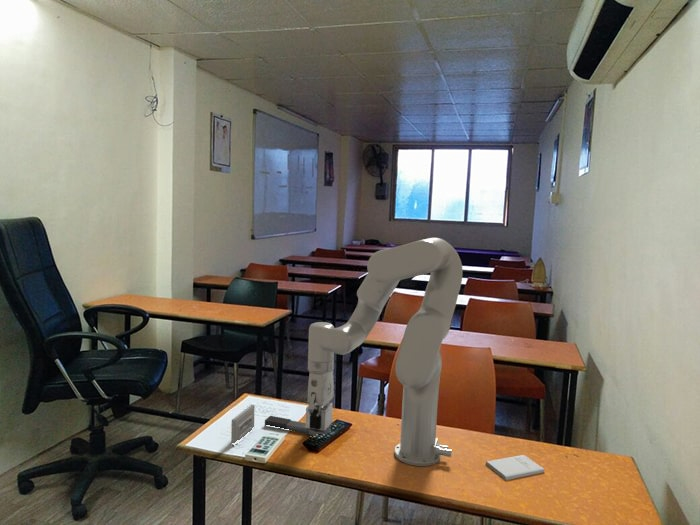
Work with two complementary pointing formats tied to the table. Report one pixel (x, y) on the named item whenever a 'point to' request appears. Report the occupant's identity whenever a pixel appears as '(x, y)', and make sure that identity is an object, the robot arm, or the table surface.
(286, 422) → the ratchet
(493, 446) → the table surface
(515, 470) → the external hard drive
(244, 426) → the cassette
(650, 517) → the table surface
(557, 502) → the table surface
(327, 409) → the grey block
